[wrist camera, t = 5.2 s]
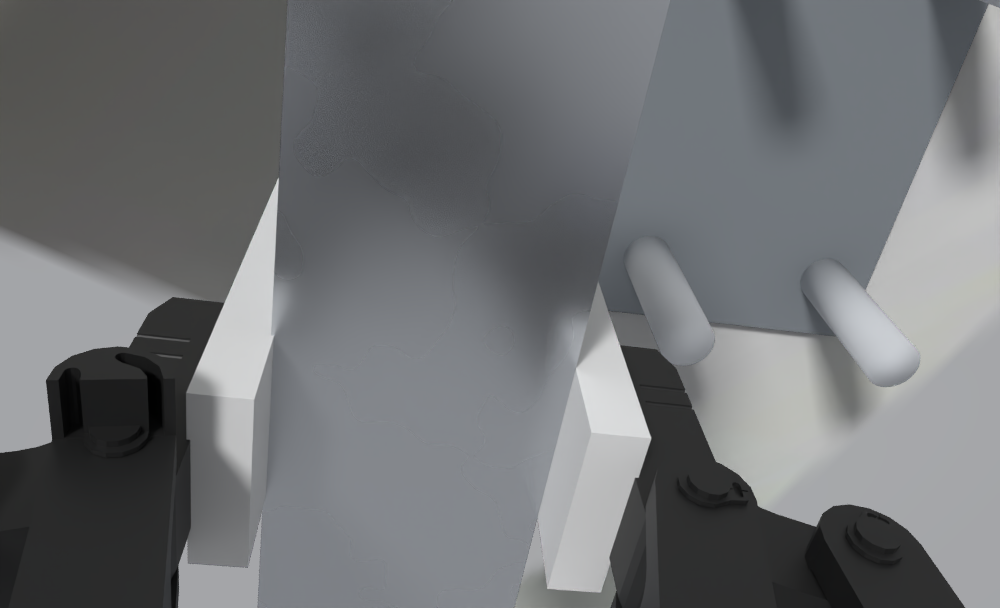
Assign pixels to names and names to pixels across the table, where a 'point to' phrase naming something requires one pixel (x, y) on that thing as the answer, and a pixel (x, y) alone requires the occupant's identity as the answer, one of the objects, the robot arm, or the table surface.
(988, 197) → the table surface
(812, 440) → the table surface
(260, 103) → the table surface
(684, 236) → the rack
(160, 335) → the robot arm
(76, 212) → the table surface
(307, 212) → the grey long block
